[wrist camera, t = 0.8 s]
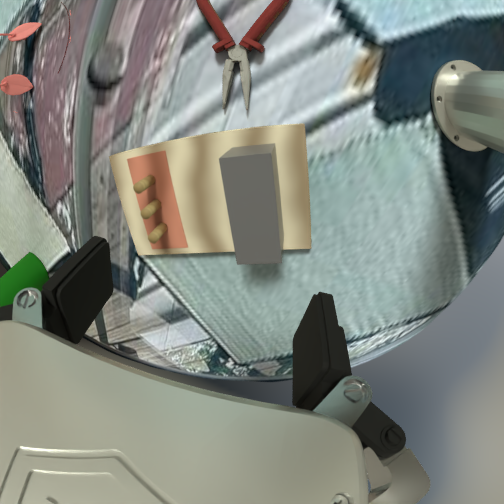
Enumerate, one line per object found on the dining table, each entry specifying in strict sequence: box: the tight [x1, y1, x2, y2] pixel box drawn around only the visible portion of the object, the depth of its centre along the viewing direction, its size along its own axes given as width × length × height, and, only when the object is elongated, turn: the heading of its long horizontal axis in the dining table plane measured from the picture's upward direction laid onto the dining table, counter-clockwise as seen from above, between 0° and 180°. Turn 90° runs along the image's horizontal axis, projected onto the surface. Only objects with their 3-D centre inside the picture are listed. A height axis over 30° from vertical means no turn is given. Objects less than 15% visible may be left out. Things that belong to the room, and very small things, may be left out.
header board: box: [109, 124, 311, 255], centre depth 33 cm, size 26×16×5 cm, turn 97°
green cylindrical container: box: [0, 252, 49, 307], centre depth 42 cm, size 10×9×20 cm
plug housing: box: [219, 143, 284, 264], centre depth 30 cm, size 12×5×6 cm, turn 7°
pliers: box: [196, 0, 289, 110], centre depth 23 cm, size 12×20×3 cm, turn 177°
